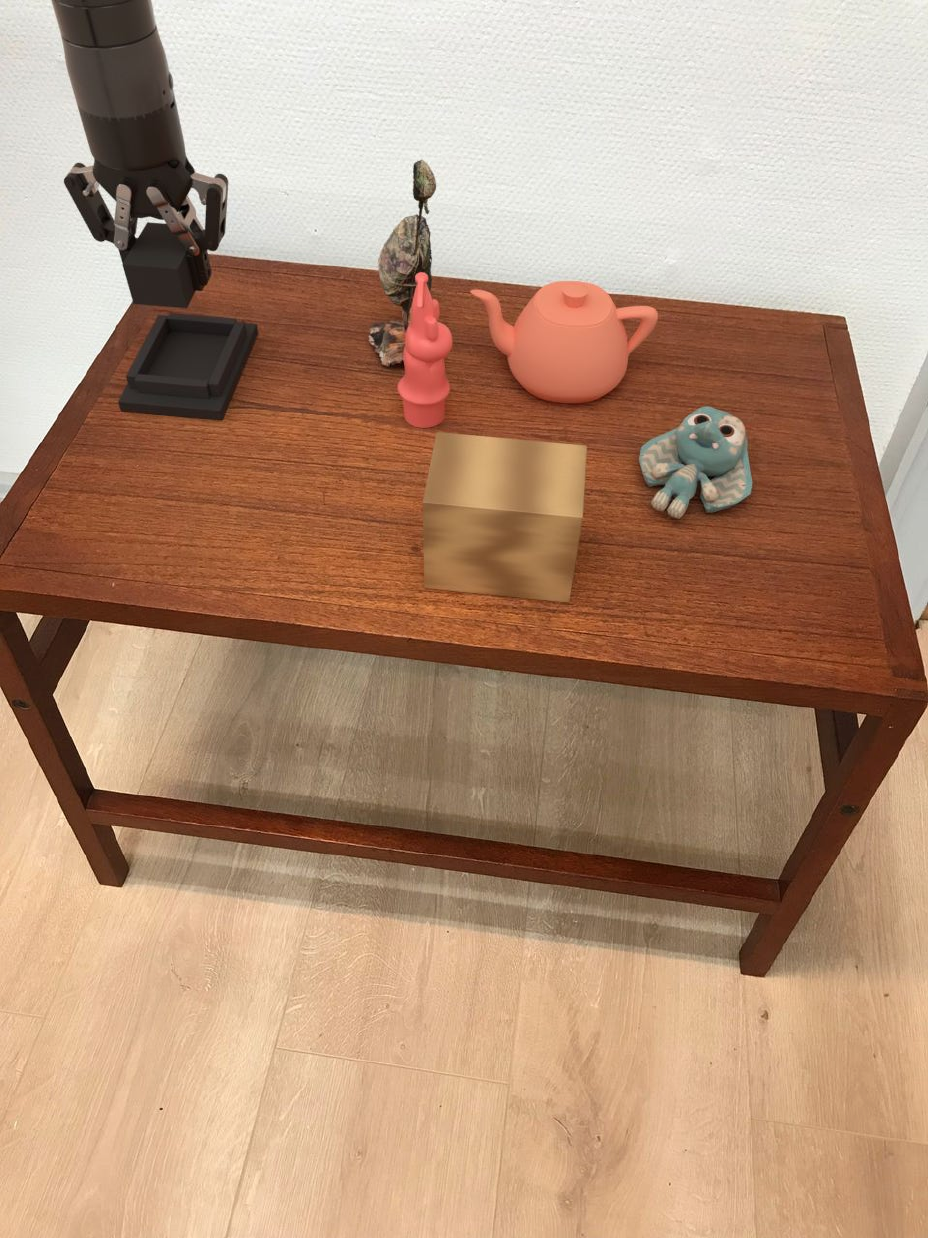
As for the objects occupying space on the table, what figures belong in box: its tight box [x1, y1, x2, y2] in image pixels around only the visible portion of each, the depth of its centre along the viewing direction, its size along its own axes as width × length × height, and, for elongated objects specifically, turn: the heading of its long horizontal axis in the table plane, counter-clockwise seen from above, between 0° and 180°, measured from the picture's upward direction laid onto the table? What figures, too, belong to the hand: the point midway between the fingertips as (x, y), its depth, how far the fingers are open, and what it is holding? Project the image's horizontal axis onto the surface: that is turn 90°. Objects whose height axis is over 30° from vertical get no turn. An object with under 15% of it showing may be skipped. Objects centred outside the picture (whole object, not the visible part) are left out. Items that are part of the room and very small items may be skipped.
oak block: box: [421, 431, 588, 603], centre depth 79 cm, size 12×8×10 cm, turn 83°
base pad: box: [117, 312, 259, 421], centre depth 97 cm, size 14×10×3 cm
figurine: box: [397, 272, 454, 429], centre depth 88 cm, size 5×5×15 cm
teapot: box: [470, 280, 659, 404], centre depth 95 cm, size 12×18×10 cm
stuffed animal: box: [638, 406, 753, 520], centre depth 86 cm, size 11×7×12 cm
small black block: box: [122, 221, 196, 309], centre depth 89 cm, size 7×5×4 cm
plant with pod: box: [368, 159, 437, 367], centre depth 94 cm, size 8×11×20 cm
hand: (171, 282), depth 90 cm, fingers closed on small black block, 5 cm apart
